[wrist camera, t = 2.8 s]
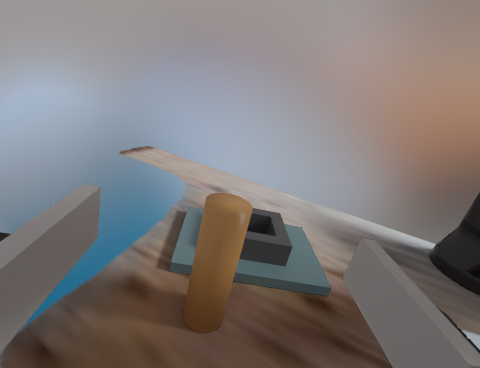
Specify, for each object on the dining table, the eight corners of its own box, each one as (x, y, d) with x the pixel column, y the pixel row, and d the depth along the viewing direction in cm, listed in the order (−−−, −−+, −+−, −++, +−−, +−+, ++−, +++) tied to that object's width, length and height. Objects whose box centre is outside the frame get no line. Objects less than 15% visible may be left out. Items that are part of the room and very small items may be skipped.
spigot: (222, 302, 32) (250, 198, 27) (221, 335, 27) (254, 219, 23) (186, 297, 31) (207, 189, 26) (179, 330, 27) (203, 210, 22)
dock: (299, 233, 52) (307, 211, 50) (327, 296, 37) (340, 267, 35) (187, 213, 49) (191, 189, 47) (169, 271, 34) (174, 239, 33)
